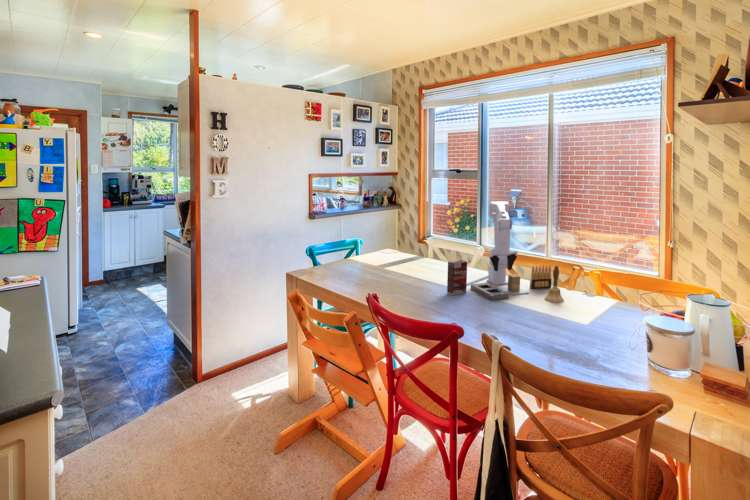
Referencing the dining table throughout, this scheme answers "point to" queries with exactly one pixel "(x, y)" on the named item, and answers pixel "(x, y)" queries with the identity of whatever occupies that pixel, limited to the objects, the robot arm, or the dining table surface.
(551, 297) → the hand bell
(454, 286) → the supplement box
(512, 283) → the walnut peg
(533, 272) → the ammunition clip
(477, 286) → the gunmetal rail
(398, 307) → the dining table surface
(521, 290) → the blue-grey board
